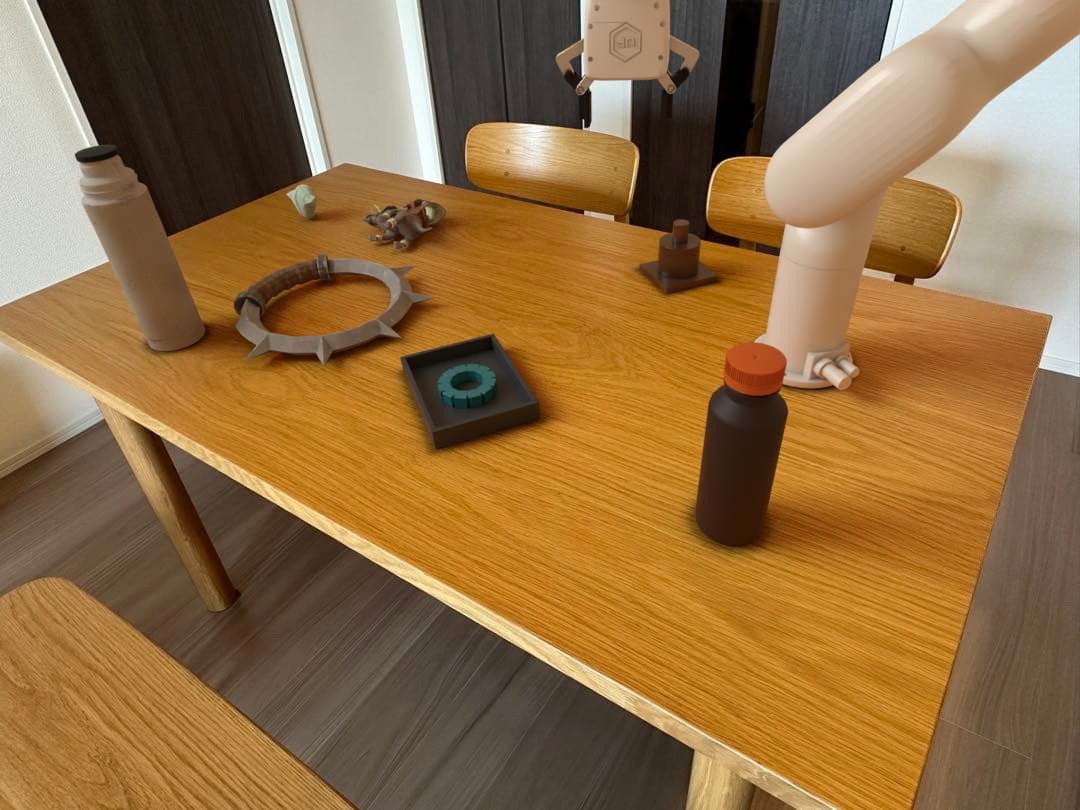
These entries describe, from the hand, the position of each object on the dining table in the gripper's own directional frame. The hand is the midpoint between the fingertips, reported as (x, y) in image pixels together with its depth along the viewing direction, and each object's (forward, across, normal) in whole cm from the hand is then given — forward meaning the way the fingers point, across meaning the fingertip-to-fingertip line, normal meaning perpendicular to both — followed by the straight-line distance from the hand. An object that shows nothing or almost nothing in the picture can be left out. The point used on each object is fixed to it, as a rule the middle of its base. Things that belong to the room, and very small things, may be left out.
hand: (625, 124), depth 89 cm
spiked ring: (+26, -44, -7) cm, 51 cm away
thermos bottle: (+26, -66, -14) cm, 72 cm away
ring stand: (+26, +8, +10) cm, 29 cm away
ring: (+25, -18, -24) cm, 39 cm away
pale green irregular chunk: (+26, -64, +30) cm, 75 cm away
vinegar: (+26, +13, -43) cm, 52 cm away
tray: (+26, -18, -24) cm, 40 cm away
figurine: (+26, -41, +25) cm, 55 cm away
